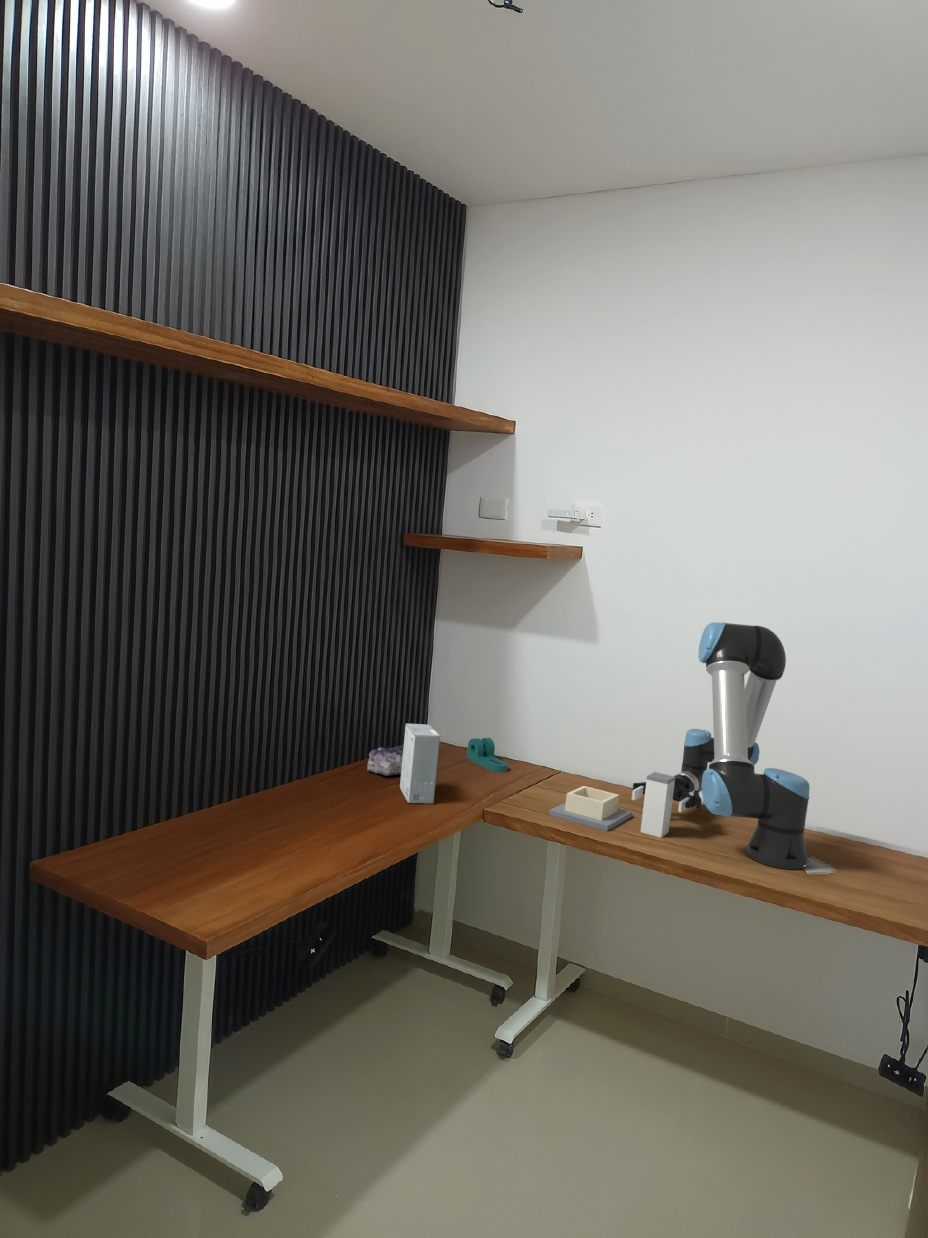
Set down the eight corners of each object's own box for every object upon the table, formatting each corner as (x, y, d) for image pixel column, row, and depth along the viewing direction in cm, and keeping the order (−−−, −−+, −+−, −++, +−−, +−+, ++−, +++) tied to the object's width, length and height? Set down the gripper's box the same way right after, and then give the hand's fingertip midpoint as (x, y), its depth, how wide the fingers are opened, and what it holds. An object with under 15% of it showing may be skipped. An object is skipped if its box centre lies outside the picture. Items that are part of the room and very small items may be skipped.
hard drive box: (434, 804, 256) (440, 736, 254) (407, 804, 254) (414, 735, 252) (423, 788, 271) (429, 723, 269) (398, 787, 269) (404, 722, 267)
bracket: (466, 758, 312) (468, 736, 311) (482, 757, 315) (485, 735, 314) (494, 773, 296) (496, 750, 296) (511, 772, 300) (513, 749, 299)
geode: (412, 764, 297) (418, 736, 296) (432, 778, 289) (438, 749, 287) (360, 767, 285) (366, 738, 283) (379, 782, 276) (385, 752, 274)
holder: (631, 817, 262) (634, 795, 262) (607, 831, 247) (609, 808, 246) (576, 802, 272) (578, 781, 271) (548, 815, 257) (551, 793, 256)
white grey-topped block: (668, 832, 251) (675, 776, 250) (661, 837, 246) (667, 780, 244) (648, 827, 254) (654, 772, 253) (640, 832, 249) (647, 775, 248)
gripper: (722, 809, 261) (698, 825, 243) (641, 789, 274) (613, 803, 256) (725, 784, 260) (701, 798, 242) (643, 765, 273) (616, 777, 255)
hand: (656, 801), depth 249 cm, fingers open, 13 cm apart
